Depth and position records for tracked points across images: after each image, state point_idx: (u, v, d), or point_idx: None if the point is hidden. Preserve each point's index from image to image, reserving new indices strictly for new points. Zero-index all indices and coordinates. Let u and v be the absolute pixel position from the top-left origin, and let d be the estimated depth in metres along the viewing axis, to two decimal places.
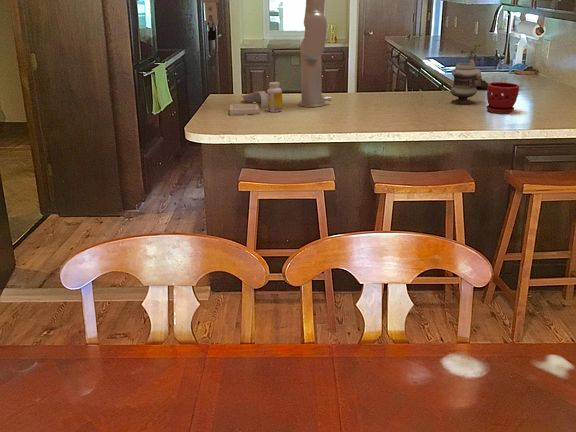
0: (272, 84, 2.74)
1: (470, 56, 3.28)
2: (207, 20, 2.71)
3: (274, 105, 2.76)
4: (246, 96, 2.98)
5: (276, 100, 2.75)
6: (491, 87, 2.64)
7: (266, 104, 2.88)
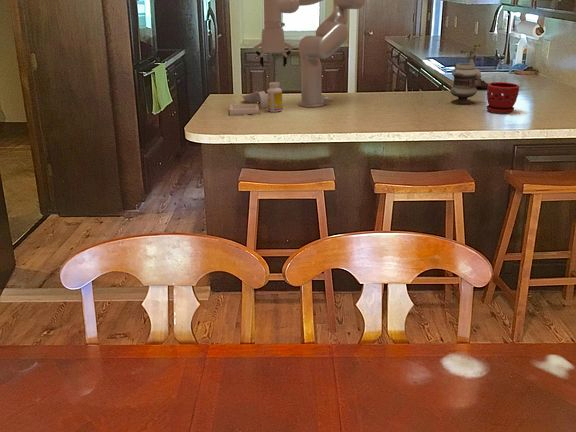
0: (272, 84, 2.74)
1: (470, 56, 3.28)
2: (284, 46, 2.69)
3: (274, 105, 2.76)
4: (246, 96, 2.98)
5: (276, 100, 2.75)
6: (491, 87, 2.64)
7: (265, 104, 2.87)
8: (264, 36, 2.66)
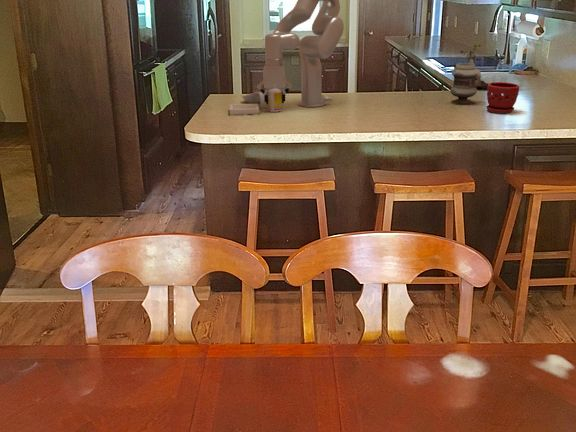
0: None
1: None
2: (285, 82, 2.75)
3: (274, 105, 2.76)
4: (246, 96, 2.97)
5: (276, 100, 2.75)
6: (491, 87, 2.64)
7: (265, 104, 2.87)
8: (265, 73, 2.72)
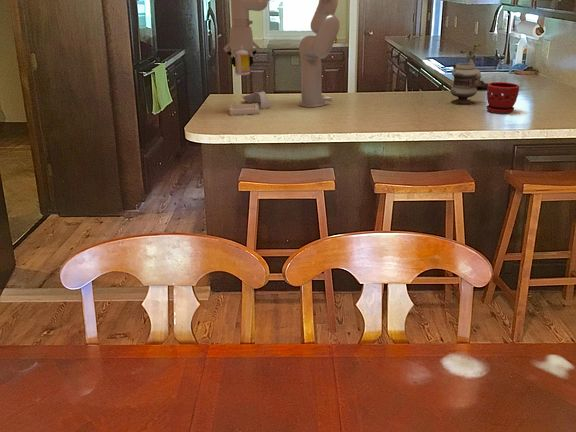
0: None
1: None
2: (252, 44, 2.68)
3: (241, 67, 2.69)
4: (246, 96, 2.97)
5: (243, 62, 2.68)
6: (491, 87, 2.64)
7: (265, 105, 2.86)
8: (232, 34, 2.65)
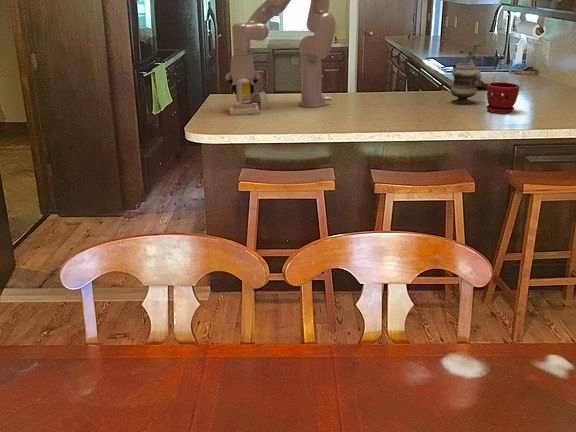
0: None
1: None
2: (253, 73, 2.72)
3: (242, 95, 2.73)
4: None
5: (244, 90, 2.73)
6: (491, 87, 2.64)
7: (265, 105, 2.86)
8: (233, 63, 2.69)
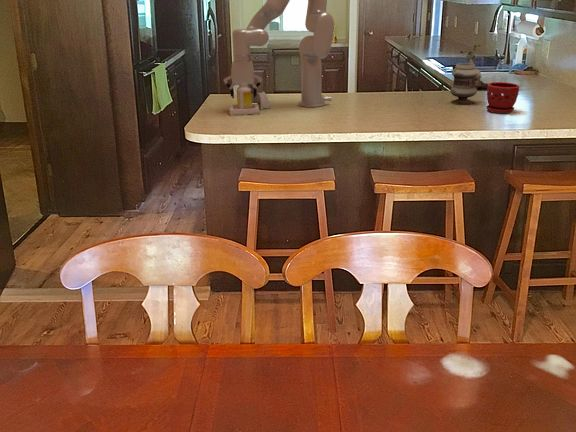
0: None
1: None
2: None
3: (243, 104, 2.75)
4: None
5: (245, 99, 2.74)
6: (491, 87, 2.64)
7: (265, 105, 2.86)
8: (233, 69, 2.70)
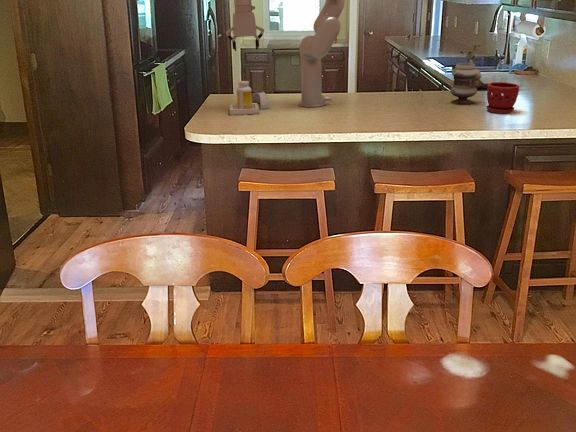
0: (241, 83, 2.73)
1: None
2: None
3: (243, 104, 2.75)
4: None
5: (245, 99, 2.74)
6: (491, 87, 2.64)
7: (265, 105, 2.85)
8: (235, 20, 2.68)
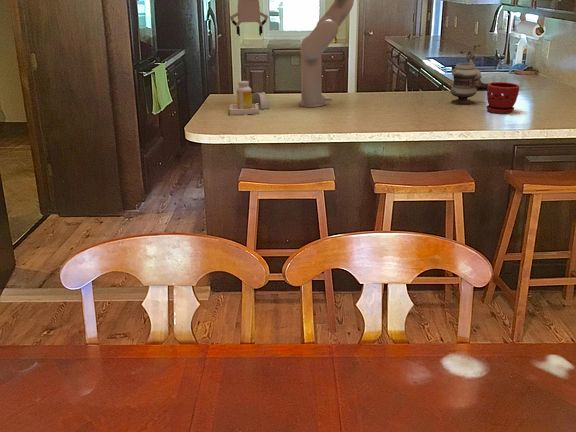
0: (241, 83, 2.73)
1: None
2: None
3: (243, 104, 2.75)
4: None
5: (245, 99, 2.74)
6: (491, 87, 2.64)
7: (265, 105, 2.85)
8: (240, 6, 2.74)
